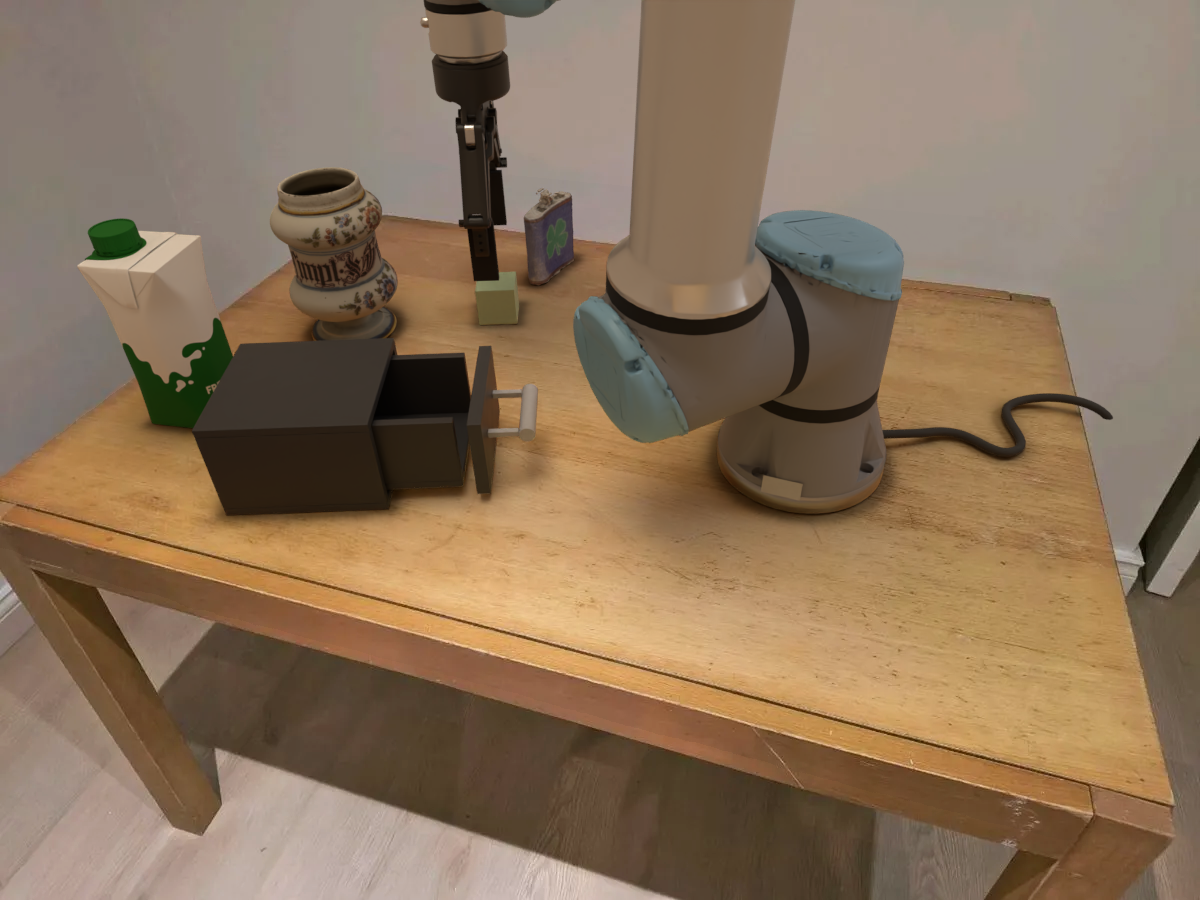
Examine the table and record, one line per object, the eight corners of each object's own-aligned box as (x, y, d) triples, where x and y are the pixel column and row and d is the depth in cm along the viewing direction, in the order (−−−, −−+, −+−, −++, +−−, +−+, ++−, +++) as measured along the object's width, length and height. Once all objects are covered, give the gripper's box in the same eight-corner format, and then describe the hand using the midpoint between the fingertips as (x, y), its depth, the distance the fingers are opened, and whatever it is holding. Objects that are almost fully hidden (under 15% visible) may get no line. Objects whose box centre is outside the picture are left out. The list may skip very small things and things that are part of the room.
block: (519, 304, 106) (516, 271, 103) (517, 323, 102) (514, 289, 100) (482, 306, 106) (478, 272, 103) (479, 325, 102) (474, 291, 100)
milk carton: (187, 380, 95) (118, 206, 82) (262, 388, 93) (204, 211, 81) (138, 428, 88) (55, 247, 76) (219, 437, 87) (148, 254, 74)
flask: (541, 287, 109) (534, 206, 102) (521, 282, 110) (514, 201, 104) (579, 257, 115) (575, 178, 108) (560, 253, 116) (555, 175, 110)
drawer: (542, 409, 87) (536, 343, 83) (538, 492, 78) (531, 422, 73) (365, 416, 87) (349, 350, 83) (339, 499, 78) (319, 430, 73)
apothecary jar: (341, 296, 109) (306, 154, 97) (424, 312, 105) (398, 166, 94) (280, 346, 100) (234, 195, 89) (369, 364, 96) (333, 210, 85)
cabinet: (410, 418, 88) (394, 337, 82) (388, 509, 78) (367, 424, 72) (267, 423, 88) (240, 343, 82) (225, 515, 78) (191, 431, 72)
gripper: (445, 21, 95) (468, 205, 109) (413, 94, 76) (446, 307, 90) (513, 19, 95) (528, 203, 109) (498, 92, 76) (518, 304, 90)
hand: (491, 250), depth 99 cm, fingers open, 13 cm apart
